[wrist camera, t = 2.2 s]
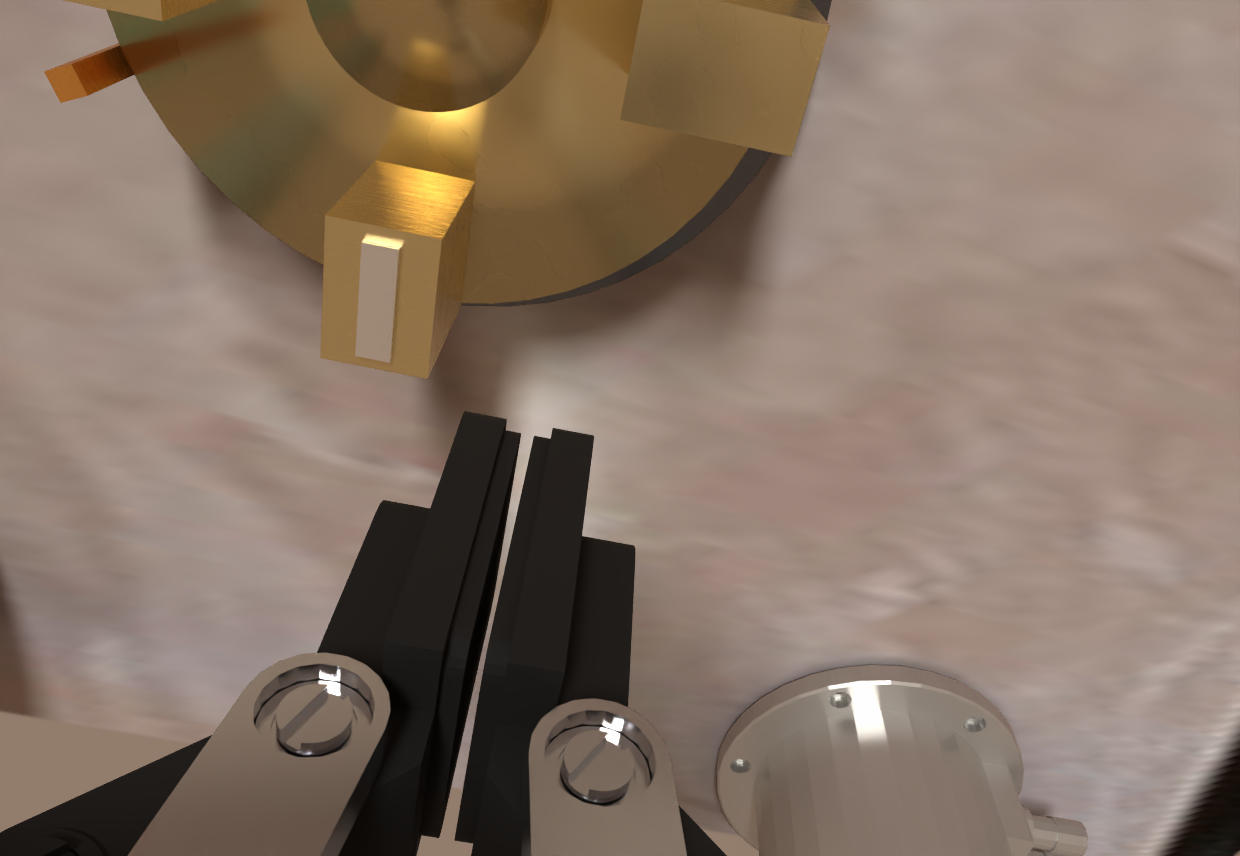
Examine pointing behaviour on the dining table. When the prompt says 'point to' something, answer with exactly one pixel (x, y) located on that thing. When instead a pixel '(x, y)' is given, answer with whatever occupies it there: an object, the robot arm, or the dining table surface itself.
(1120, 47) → the dining table surface
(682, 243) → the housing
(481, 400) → the dining table surface
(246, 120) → the gold crown turntable
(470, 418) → the robot arm
